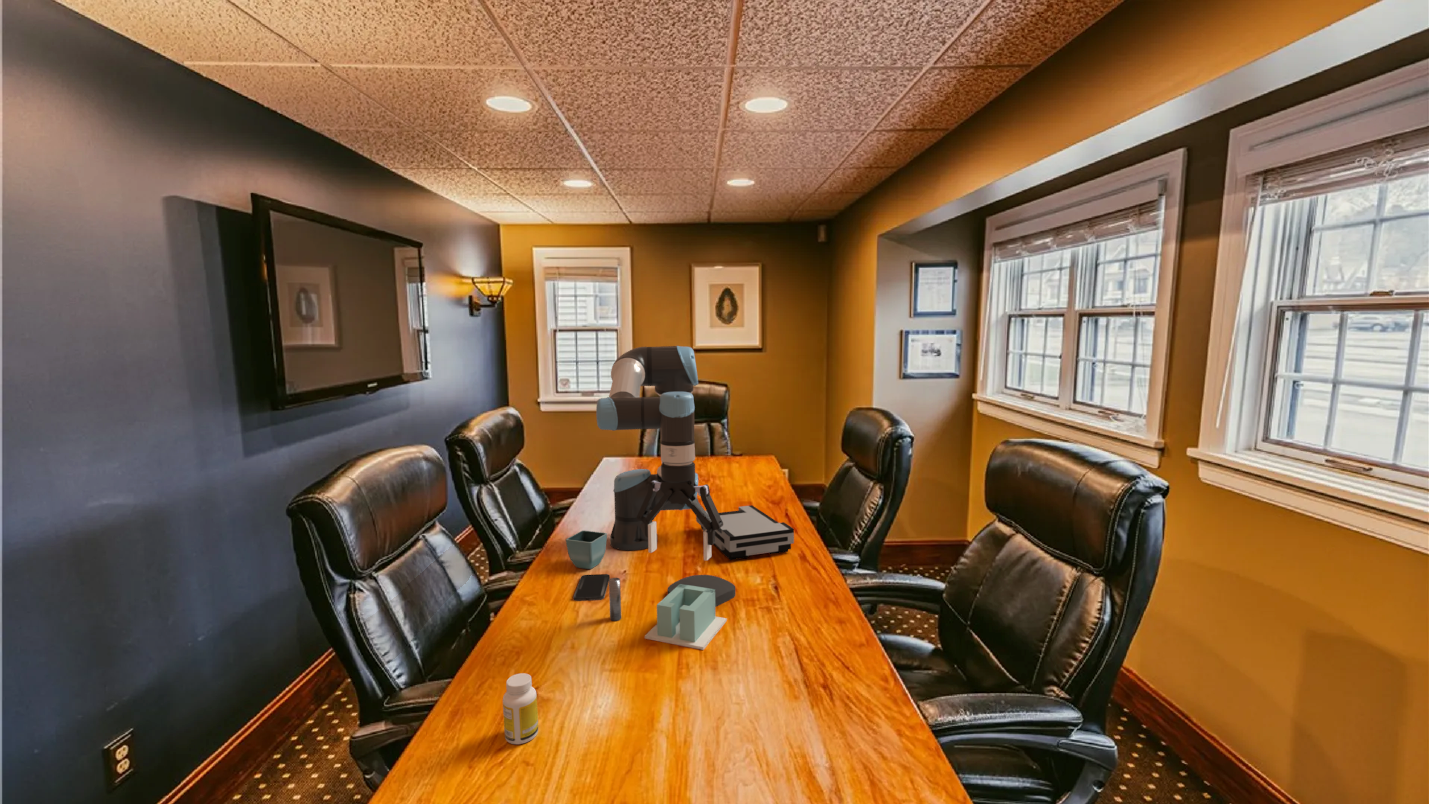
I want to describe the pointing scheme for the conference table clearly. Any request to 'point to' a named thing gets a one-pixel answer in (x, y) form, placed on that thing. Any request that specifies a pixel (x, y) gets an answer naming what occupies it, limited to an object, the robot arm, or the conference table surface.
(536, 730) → the supplement bottle
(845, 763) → the conference table surface
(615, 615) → the grey cylinder
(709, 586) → the media streaming box
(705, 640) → the mat
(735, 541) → the game console
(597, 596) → the phone
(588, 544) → the flower pot
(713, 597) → the green u-shaped block
